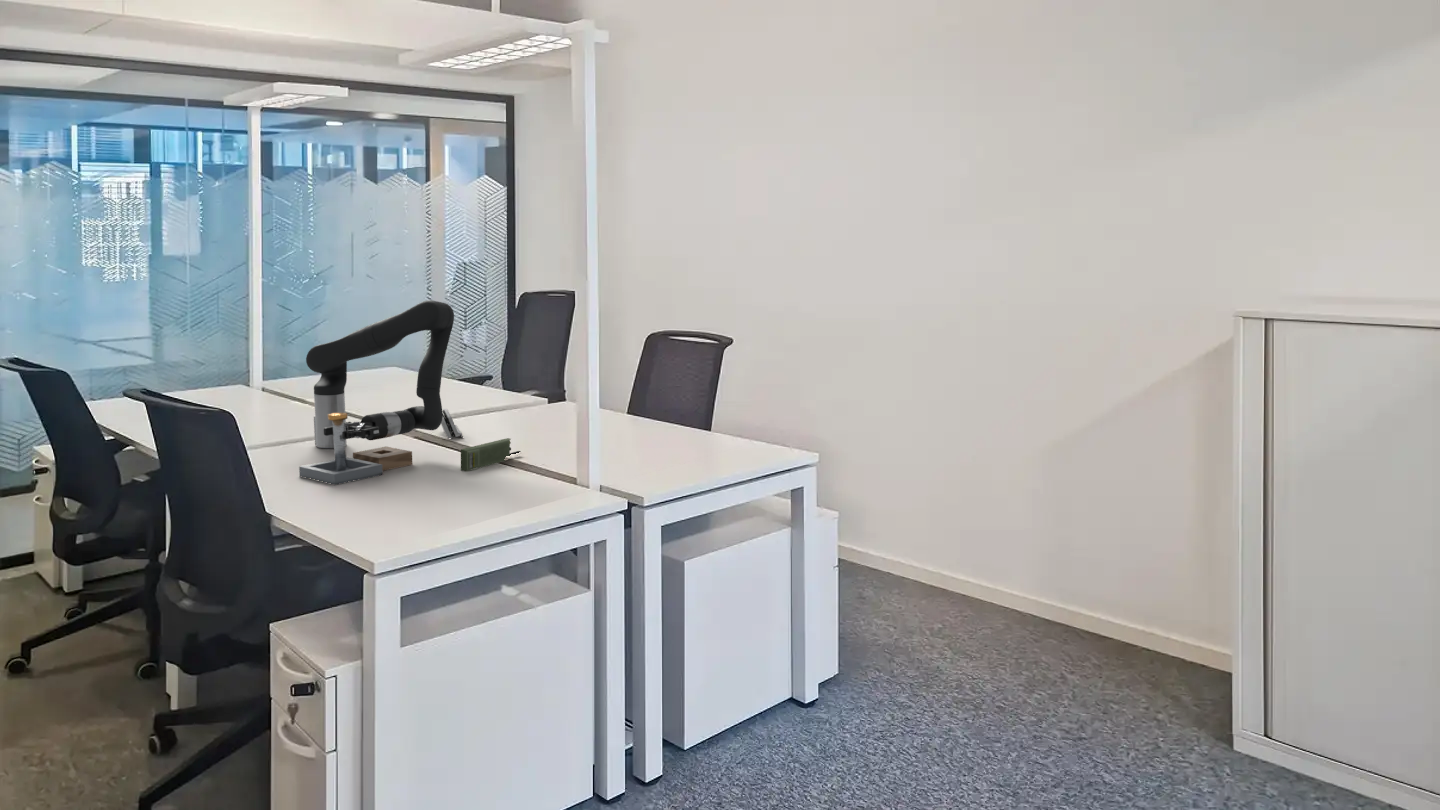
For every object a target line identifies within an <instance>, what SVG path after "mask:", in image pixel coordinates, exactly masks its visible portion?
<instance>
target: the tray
mask: <svg viewBox="0 0 1440 810" xmlns="http://www.w3.org/2000/svg"><path fill="white" fill-rule="evenodd" d="M346 465H347V470H344V471H339V472H336V468H335V459H331V460H326V461H321V462H316V463H311V464H310V463H309V464H304V465H300V466H299V467H298V470H299V477H300V476H302V477H306V478H305V479H307V478H311V479H315V480H319V481H318V482H320V481H323V482H322V483H324V482H327V483H326V484H328V483H331V484H330V485H332V484H337V485H340V484H339V483H342V484H345V483H344V482H346V483H349V482H348V481H351V482H354V481H353V480H356V481H359V480H358V479H360V480H363V479H364V478H365V479H369V478H368V477H370V478H374V477H379V476H383V475H384V474H383V473H384V471H382V464H377V463H373V462H368V461H363V460H358V459H353V457H347V456H346ZM382 474H383V475H382ZM378 475H379V476H378ZM373 476H374V477H373ZM302 477H301V478H302ZM311 479H310V480H311ZM365 479H364V480H365ZM315 480H314V481H315Z"/></svg>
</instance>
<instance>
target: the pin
mask: <svg viewBox="0 0 1440 810" xmlns="http://www.w3.org/2000/svg"><path fill="white" fill-rule="evenodd" d="M348 417H349V416H348V413H346V412H345V413H332V414H328V420H332V422H333V438H334V448H333V452H334V460H335V468H336V472H339V471H344V470H347V465H346V457H347V452H346V451H347V450H346V446H345V439H343V438H342V432H343V431H344V420H345V419H346V420H347V419H348Z"/></svg>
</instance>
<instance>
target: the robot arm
mask: <svg viewBox="0 0 1440 810" xmlns="http://www.w3.org/2000/svg"><path fill="white" fill-rule="evenodd" d="M454 321H455V313H454V310H453V307H451V305H449V304H448V303H445V302H442V301H437V300H432V299H428V300H427V299H426V300H423V301H421V302H419V303H417V304H416V305H414V306H412V307H410V308H408V309H406V310H405V311H402V312H400V313H398V314H395V315H391V316H390V317H388V318H384V319H381V320H379V321H376V322H374V323H371V324H369V325H365V326H364V327H362V328H360V329H358V330H355V331H353V332H350V333H349V334H347V335H346V336H345V335H344V336H343V337H341V338H339V339H336V340H331V341H329V342H326V343H321V344H317V345H314V346H312V347H311V348H310V349H309V350H308V352H307V355H306V358H305V362H306V365H307V367H308V368H309V369H310V370H311V371H312V372H314V373H317V374H320V375H321V376H320V378H319V379H318V381H317V382H316V383H315V384H314V385H313V398H314V399H313V401H314V403H313V404H314V416H313V429H314V430H313V432H314V433H313V434H314V445H315V446H316V448H320V449H334V438H333V422H332V420H328V414H332V413H346V399H345V398H346V396H345V387H346V385H347V381H348V378H347V376H348V372H347V371H348V363H347V362H349V361H353V360H357V359H358V360H359V359H364V358H368V357H370V356H371V357H372V356H374V355H378V354H381V353H383V352H386V351H388V350H391V349H393V348H395V347H396V346H397V345H398V344H400V343H401V341H402V340H403V339H404V338H406V337H407V336H410V335H412V334H416V333H419V332H423V331H430V339H429V340H430V341H429V345H428V347H427V350H426V353H425V355H424V356H423V358H422V361H421V363H420V365H419V368H418V371H417V372H418V373H417V381H416V389H415V393H416V396H417V397H418V398H420V399H421V400H422V402H423V406H422V405H417V406H412V407H408V408H406V409H403V410H395V411H383V412H378V413H371V414H365V415H364V416H363V417H361V418H362V419H361V421H354V422H351V421H346V420H347V419H345V420H344V431H343V432H342V438H343V439H345V447H346V446H347V443H348V442H347V440H348V439H349V440H350V439H354V438H355V439H366V440H367V441H375V440H381V439H386V438H391V437H393V436H398V435H404V434H408V433H411V432H412V431H414V430H425V431H436V430H438V428H440V426H442V425H441V422H442V418H443V415H444V414H443V405H442V399H441V384H442V376H443V375H442V374H443V367H444V361H445V357H446V354H447V349H448V346H449V342H450V338H451V334H452V330H453V326H454Z"/></svg>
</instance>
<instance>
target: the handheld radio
mask: <svg viewBox="0 0 1440 810" xmlns="http://www.w3.org/2000/svg"><path fill="white" fill-rule="evenodd" d="M511 439H512V438H509V437H508V438H507V437H506V438H503V439H498V440H494V441H490V442H486V443H482V444H478V445H474V446H470V447H465V448H462V449H460V471H461V472H468V471H472V470H476V469H481V468H484V467H488V466H491V465H496V464H500V463H504V462H506V461H505V460H504V459H505V457H506V456H510V455H511V454H516V453H519V452H521V450H517V451H513V452H511V450H512V447H511ZM521 453H522V452H521ZM480 467H481V468H480Z"/></svg>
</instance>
